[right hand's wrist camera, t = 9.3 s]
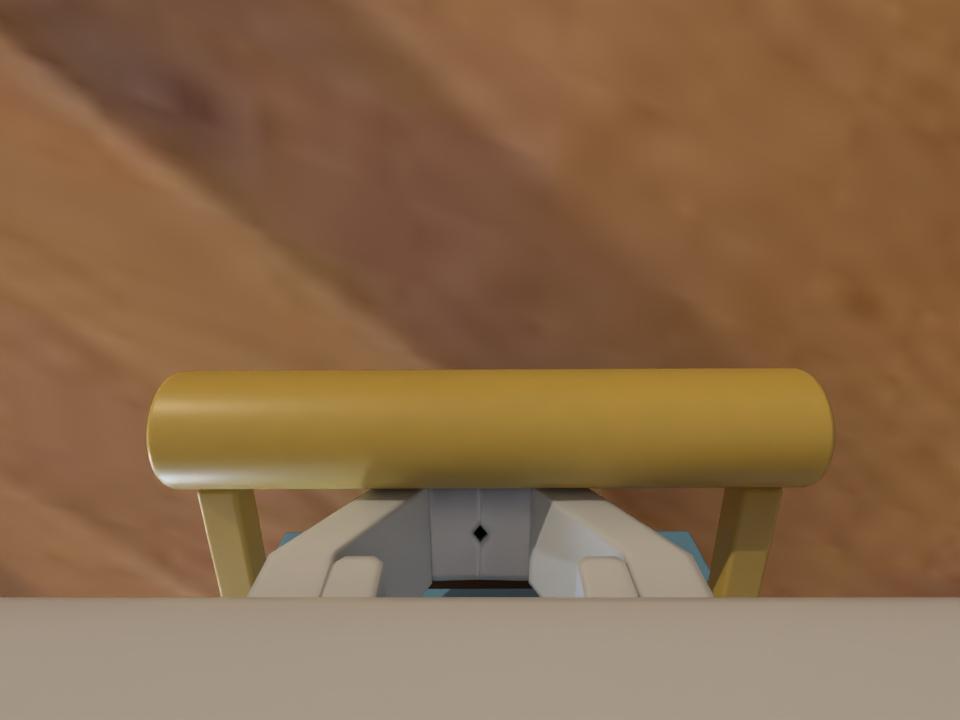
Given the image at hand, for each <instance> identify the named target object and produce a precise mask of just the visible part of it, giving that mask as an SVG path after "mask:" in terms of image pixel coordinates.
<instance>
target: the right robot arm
mask: <svg viewBox="0 0 960 720" xmlns="http://www.w3.org/2000/svg"><path fill="white" fill-rule="evenodd" d="M444 580H516V581H529V584H530V585H531V586H532V588H533V589H534V590H535V591H536V593H537V594H538V595H539V596H540V597H421V596H422V595H423V594H424V592H425V591H426V590H427V589H428V588H429V586H430V585H431V584H432V581H444ZM0 720H960V597H714V595H713V593H712V591H711V589H710V588H709V586H708V584H707V582H706V580H705V578H704V576H703V574H702V573H701V571H700V569H699V567H698V565H697V563H696V561H695V559H694V557H693V556H692V554H690V553H689V552H687V551H685V550H684V549H682V548H681V547H679V546H678V545H676V544H675V543H673V542H671V541H670V540H668V539H667V538H665V537H664V536H662V535H660V534H659V533H657V532H656V531H654V530H653V529H651V528H649V527H648V526H646V525H645V524H643V523H642V522H640V521H639V520H637V519H635V518H634V517H632V516H631V515H629V514H628V513H626V512H624V511H623V510H621V509H620V508H618V507H617V506H615V505H613V504H612V503H610V502H609V501H607V500H606V499H604V498H603V497H601V496H599V495H598V494H596V493H595V492H593V491H592V490H590V489H588V488H431V489H371V490H369V491H367V492H366V493H364V494H363V495H361V496H360V497H358V498H356V499H355V500H353V501H352V502H350V503H349V504H347V505H345V506H344V507H342V508H341V509H339V510H338V511H336V512H334V513H333V514H331V515H330V516H328V517H327V518H325V519H323V520H322V521H320V522H319V523H317V524H316V525H314V526H312V527H311V528H309V529H308V530H306V531H305V532H303V533H301V534H300V535H298V536H297V537H295V538H294V539H292V540H291V541H289V542H287V543H286V544H284V545H283V546H281V547H280V548H278V549H276V550H275V551H273V552H272V553H270V554H269V556H268V558H267V559H266V561H265V563H264V565H263V567H262V569H261V571H260V572H259V574H258V576H257V578H256V580H255V582H254V584H253V585H252V587H251V589H250V591H249V593H248V595H247V597H0Z"/></svg>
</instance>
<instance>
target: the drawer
mask: <svg viewBox="0 0 960 720" xmlns="http://www.w3.org/2000/svg"><path fill="white" fill-rule="evenodd" d="M146 438H147V451H148V456H149V461H150V464H151V467H152V469H153V471H154V473H155V475H156V476H157V478H158V479H159V480H160V481H161V482H162V483H163V484H165V485H166V486H168V487H171V488H173V489H198V494H197V495H198V499H199V503H200V508H201V512H202V516H203V521H204V525H205V529H206V534H207V538H208V543H209V547H210V551H211V556H212V560H213V564H214V569H215V573H216V578H217V582H218V586H219V591H220V595H221V597H247V595H248V593H249V591H250V589H251V587H252V585H253V584H254V582H255V580H256V578H257V576H258V574H259V572H260V571H261V569H262V567H263V565H264V563H265V561H266V556H265V551H264V546H263V540H262V535H261V529H260V524H259V518H258V513H257V508H256V502H255V497H254V491H253V489H431V488H725V492H724V498H723V503H722V508H721V514H720V519H719V525H718V530H717V536H716V541H715V547H714V552H713V557H712V563H711V568H710V569H709V568H708V566H707V564H706V562H705V560H704V558H703V556H702V554H701V553H700V551H699V549H698V547H697V545H696V543H695V541H694V540H693V538H692V536H691V534H690V532H688V531H656V532H657V533H659V534H660V535H662V536H664V537H665V538H667V539H668V540H670V541H671V542H673V543H675V544H676V545H678V546H679V547H681V548H682V549H684V550H685V551H687V552H689V553H690V554H692V556H693V557H694V559H695V561H696V563H697V565H698V567H699V569H700V571H701V573H702V574H703V576H704V578H705V580H706V582H707V584H708V586H709V588H710V589H711V591H712V593H713V595H714V597H759V592H760V588H761V584H762V579H763V575H764V571H765V566H766V562H767V557H768V553H769V549H770V544H771V540H772V536H773V531H774V527H775V522H776V518H777V514H778V509H779V505H780V501H781V496H782V488H781V487H807V486H810V485H812V484H814V483H816V482H817V481H819V480H820V479H821V478H822V477H823V476H824V474H825V473H826V471H827V469H828V467H829V465H830V462H831V459H832V456H833V451H834V443H835V427H834V419H833V414H832V409H831V406H830V403H829V400H828V398H827V395H826V393H825V391H824V389H823V388H822V386H821V385H820V383H819V382H818V381H817V380H816V379H815V378H814V377H813V376H812V375H811V374H809V373H807V372H805V371H803V370H800V369H797V368H702V369H482V370H262V371H181V372H179V373H176V374H174V375H172V376H170V377H169V378H168V379H167V380H165V381H164V383H163V384H162V385H161V386H160V388H159V389H158V391H157V393H156V395H155V397H154V400H153V402H152V405H151V408H150V412H149V416H148V422H147V435H146ZM301 533H303V532H288V533H286V534H285V535H284V537H283V539H282V541H281V543H280V545H279V547H278V548H280V547H281V546H283V545H284V544H286V543H287V542H289V541H291V540H292V539H294V538H295V537H297V536H298V535H300V534H301ZM421 597H540V596H539V595H538V594H537V593H536V591H535V590H534V589H533V588H532V586H531V585H530V584H529V581H516V580H444V581H432V584H431V585H430V586H429V588H428V589H427V590H426V591H425V592H424V594H423V595H422V596H421Z"/></svg>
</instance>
